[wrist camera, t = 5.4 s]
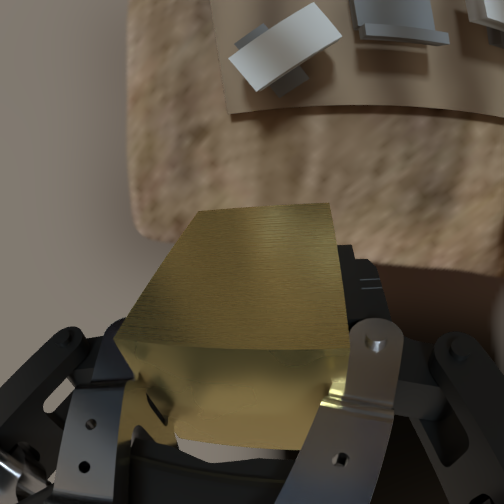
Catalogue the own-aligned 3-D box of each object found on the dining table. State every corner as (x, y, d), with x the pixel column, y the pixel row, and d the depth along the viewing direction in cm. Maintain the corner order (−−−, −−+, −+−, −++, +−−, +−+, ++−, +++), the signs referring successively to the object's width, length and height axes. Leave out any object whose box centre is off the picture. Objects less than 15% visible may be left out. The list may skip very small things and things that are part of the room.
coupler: (329, 202, 10) (350, 348, 5) (329, 307, 12) (333, 449, 7) (198, 211, 11) (112, 338, 5) (222, 308, 13) (179, 438, 8)
